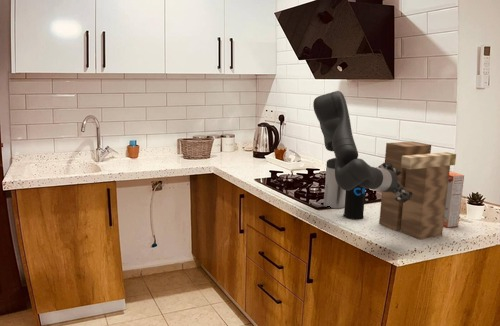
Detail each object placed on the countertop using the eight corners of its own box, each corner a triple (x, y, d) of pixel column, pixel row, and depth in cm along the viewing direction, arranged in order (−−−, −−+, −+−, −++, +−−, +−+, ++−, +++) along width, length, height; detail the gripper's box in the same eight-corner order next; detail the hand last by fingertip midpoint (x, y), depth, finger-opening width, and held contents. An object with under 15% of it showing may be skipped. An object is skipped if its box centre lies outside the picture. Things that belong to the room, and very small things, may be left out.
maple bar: (409, 169, 161) (410, 157, 160) (400, 167, 164) (401, 155, 163) (455, 165, 172) (456, 154, 171) (445, 162, 175) (447, 152, 174)
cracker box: (421, 217, 195) (426, 167, 191) (433, 216, 198) (438, 167, 194) (446, 228, 183) (452, 175, 179) (458, 226, 185) (465, 174, 181)
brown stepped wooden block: (417, 239, 169) (426, 151, 162) (379, 224, 185) (386, 143, 179) (443, 234, 175) (454, 149, 169) (404, 219, 192) (412, 141, 185)
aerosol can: (339, 215, 194) (342, 167, 190) (351, 212, 199) (355, 165, 195) (355, 220, 188) (359, 171, 184) (367, 217, 193) (371, 169, 189)
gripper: (362, 167, 159) (386, 172, 170) (381, 204, 152) (405, 207, 164) (380, 155, 155) (403, 161, 166) (400, 192, 148) (423, 196, 160)
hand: (404, 184), depth 165 cm, fingers open, 8 cm apart
